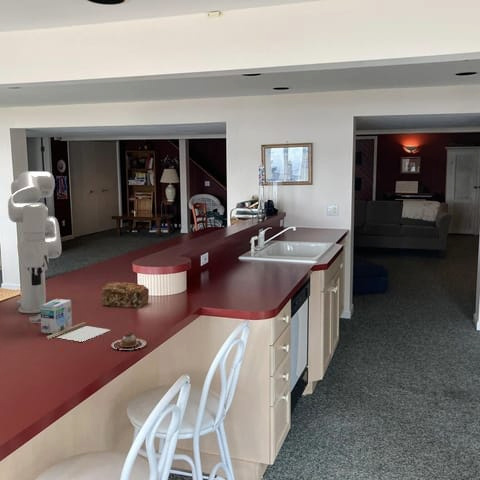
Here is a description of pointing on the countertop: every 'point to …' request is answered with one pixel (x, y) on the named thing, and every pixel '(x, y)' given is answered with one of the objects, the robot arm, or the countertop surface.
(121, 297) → the bread
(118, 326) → the countertop surface
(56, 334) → the maple strip
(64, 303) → the light bulb box
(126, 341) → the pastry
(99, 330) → the white flat sheet
